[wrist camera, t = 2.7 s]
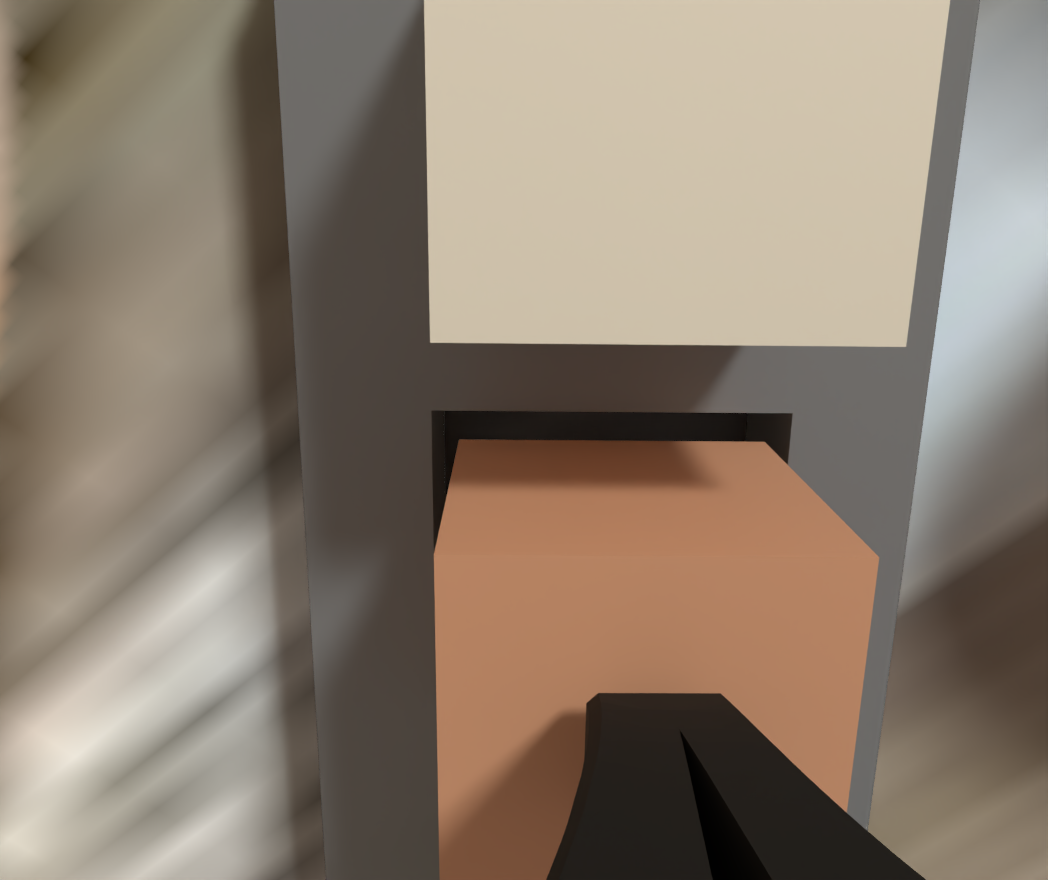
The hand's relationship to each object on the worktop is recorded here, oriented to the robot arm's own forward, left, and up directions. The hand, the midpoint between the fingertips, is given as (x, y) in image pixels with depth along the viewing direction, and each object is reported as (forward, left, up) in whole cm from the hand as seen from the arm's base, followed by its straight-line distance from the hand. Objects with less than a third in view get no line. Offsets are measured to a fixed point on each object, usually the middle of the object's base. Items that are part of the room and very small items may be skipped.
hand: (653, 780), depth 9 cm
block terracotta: (0, 0, -5) cm, 5 cm away
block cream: (+6, 0, -5) cm, 8 cm away
